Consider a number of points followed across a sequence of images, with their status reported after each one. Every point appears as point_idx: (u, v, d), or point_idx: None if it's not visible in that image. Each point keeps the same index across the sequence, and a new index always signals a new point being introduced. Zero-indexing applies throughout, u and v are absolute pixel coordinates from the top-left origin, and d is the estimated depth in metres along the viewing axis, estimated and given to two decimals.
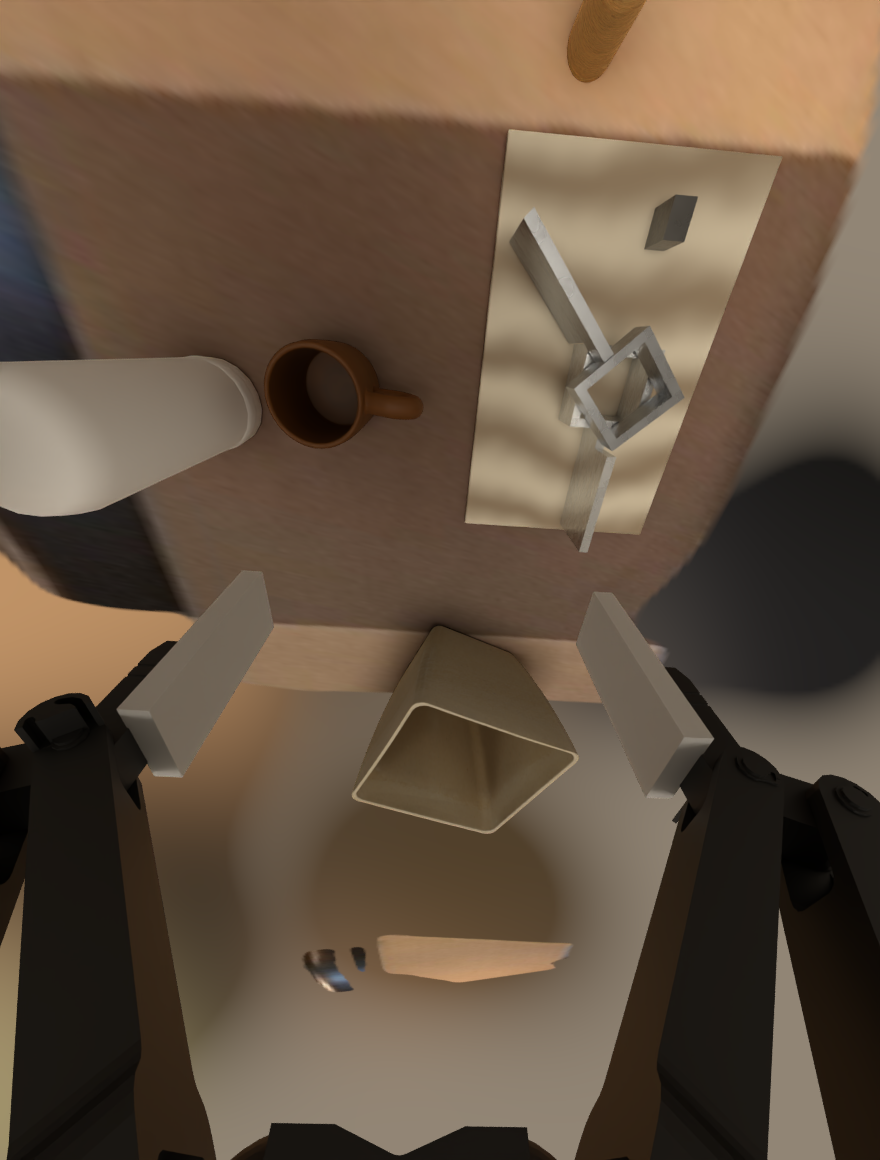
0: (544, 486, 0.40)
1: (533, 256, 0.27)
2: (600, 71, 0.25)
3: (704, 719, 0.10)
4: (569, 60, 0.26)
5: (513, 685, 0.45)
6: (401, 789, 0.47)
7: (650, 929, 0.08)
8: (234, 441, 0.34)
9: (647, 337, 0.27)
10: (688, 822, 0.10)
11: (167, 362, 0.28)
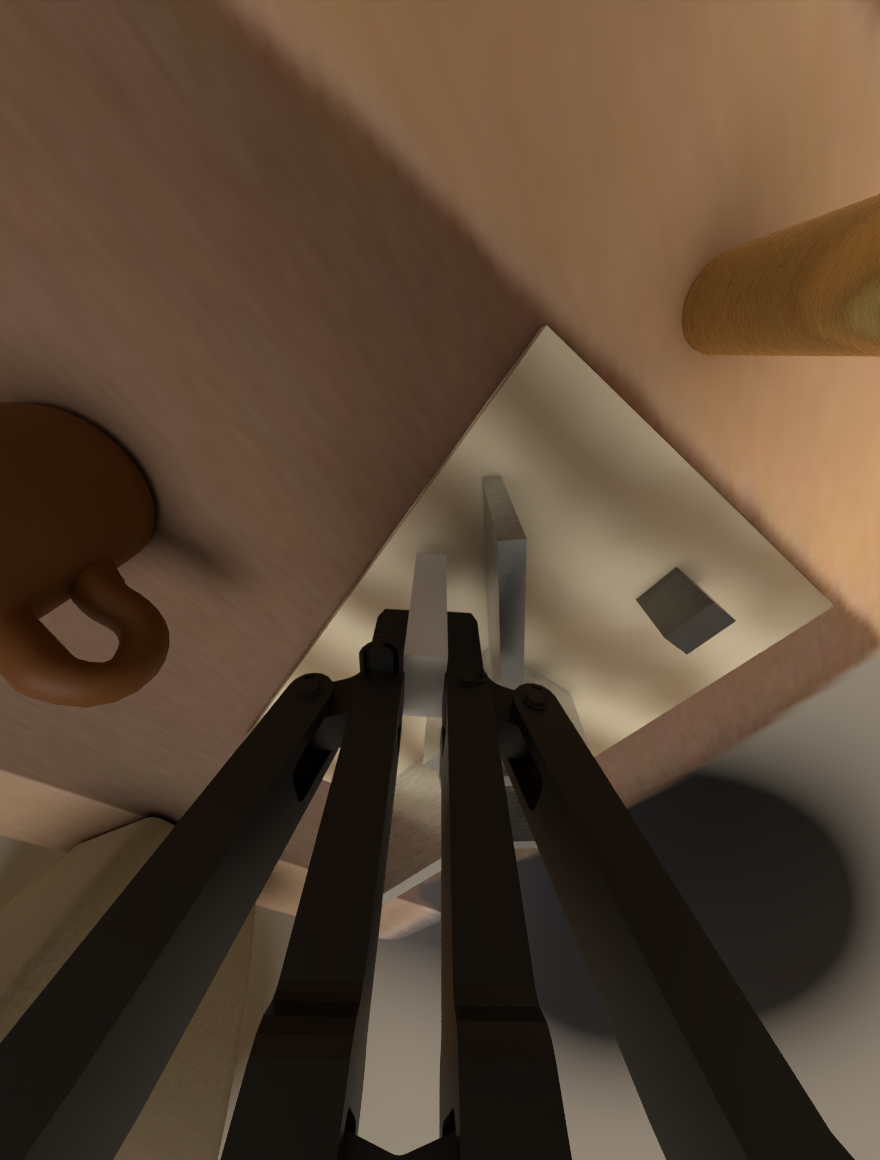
0: None
1: (491, 563, 0.14)
2: (720, 354, 0.14)
3: (466, 649, 0.12)
4: (690, 298, 0.14)
5: None
6: None
7: (441, 858, 0.09)
8: None
9: None
10: None
11: None
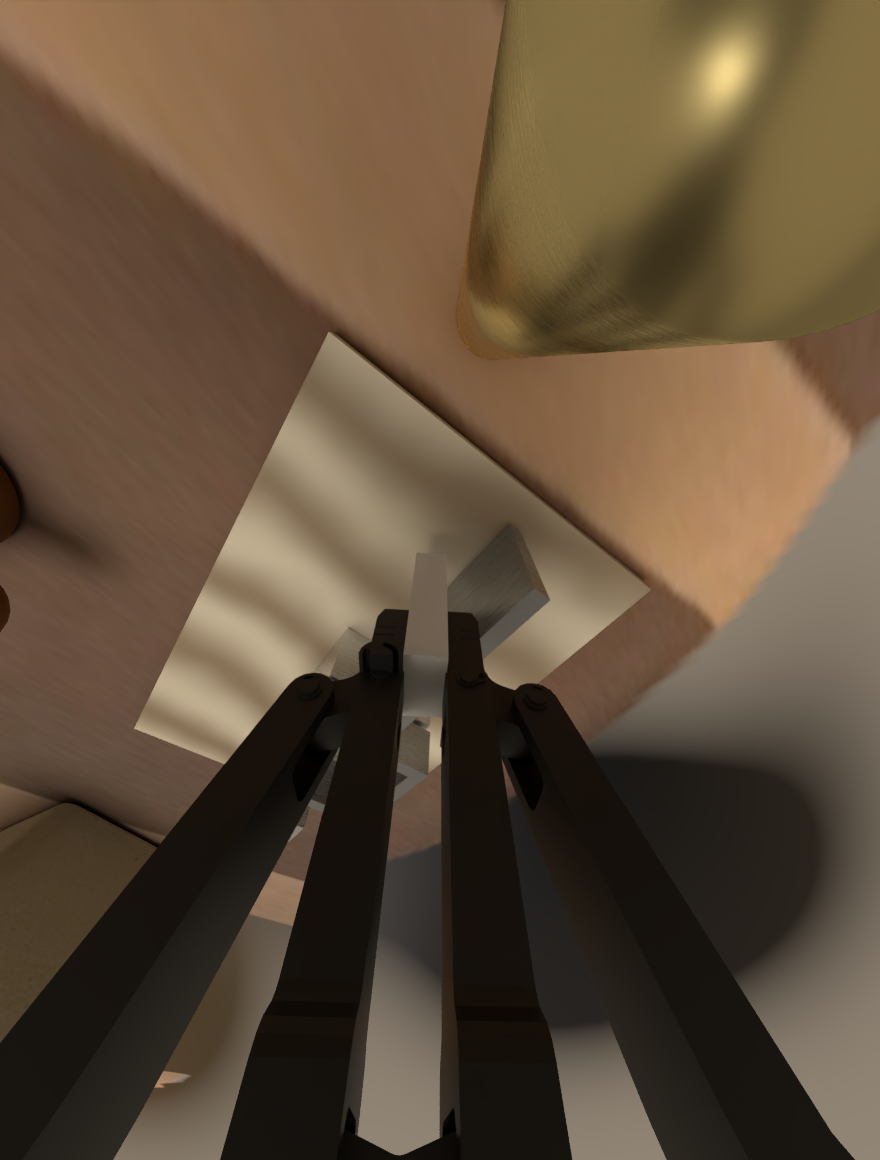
0: None
1: (489, 590, 0.16)
2: (488, 358, 0.15)
3: (467, 649, 0.12)
4: None
5: None
6: None
7: None
8: None
9: (413, 778, 0.18)
10: None
11: None
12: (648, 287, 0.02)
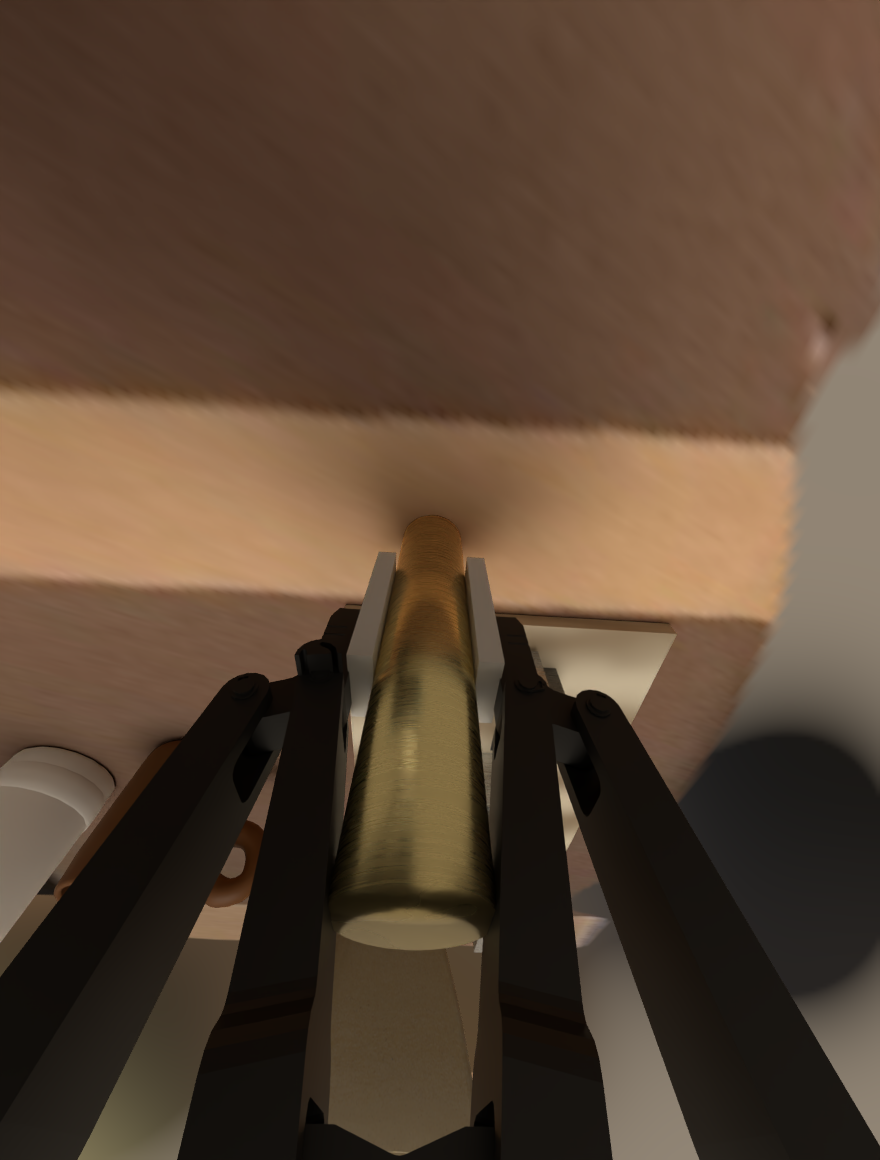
0: None
1: None
2: None
3: (517, 655, 0.12)
4: None
5: (422, 1017, 0.40)
6: None
7: None
8: (66, 853, 0.29)
9: None
10: (498, 748, 0.11)
11: None
12: (419, 948, 0.08)
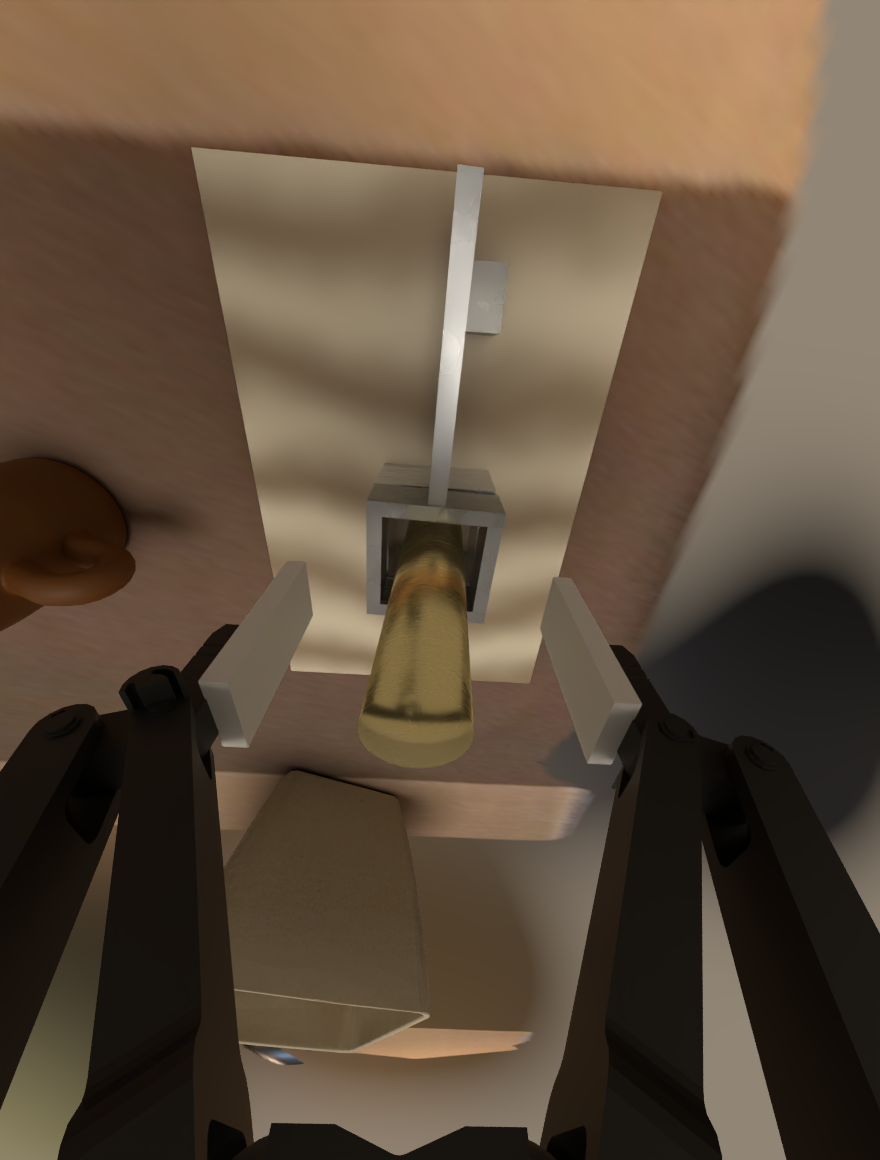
0: None
1: None
2: None
3: (640, 690, 0.11)
4: None
5: (367, 876, 0.34)
6: None
7: (597, 895, 0.08)
8: None
9: (493, 524, 0.17)
10: (624, 787, 0.10)
11: None
12: (420, 766, 0.11)
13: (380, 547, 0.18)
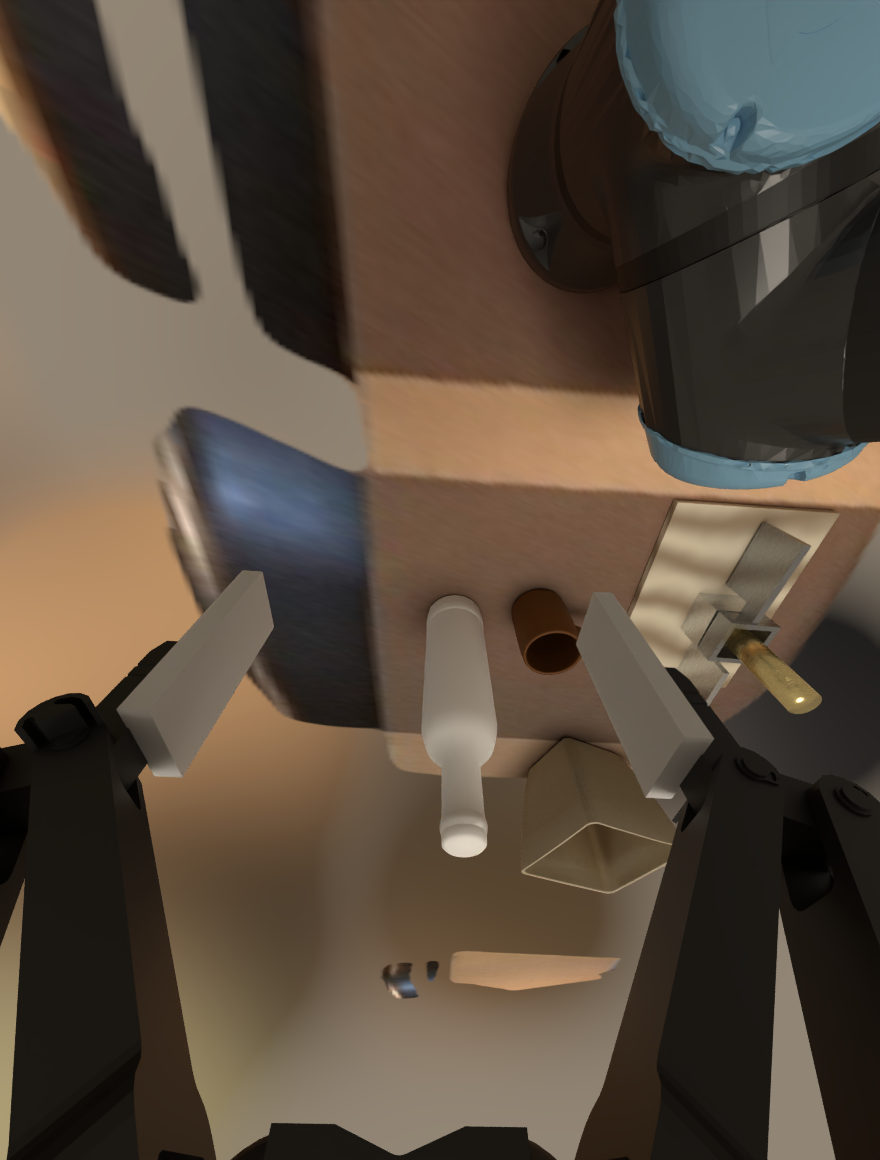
0: (663, 662, 0.58)
1: (777, 551, 0.43)
2: None
3: (704, 720, 0.10)
4: None
5: (633, 791, 0.63)
6: (548, 862, 0.65)
7: (650, 929, 0.08)
8: None
9: (774, 630, 0.46)
10: (688, 822, 0.10)
11: (468, 635, 0.46)
12: (798, 713, 0.40)
13: (728, 637, 0.47)
